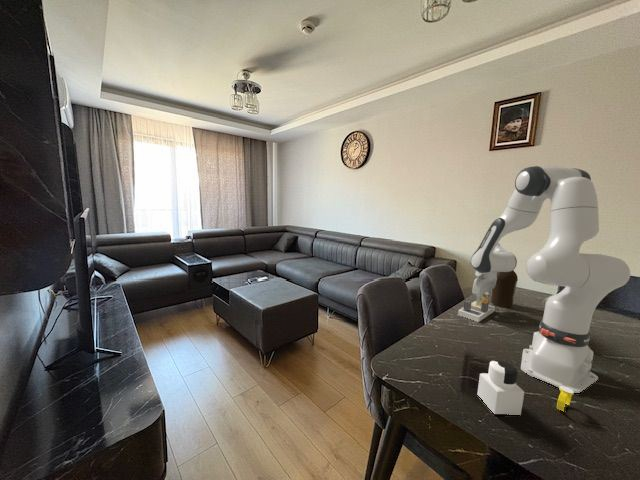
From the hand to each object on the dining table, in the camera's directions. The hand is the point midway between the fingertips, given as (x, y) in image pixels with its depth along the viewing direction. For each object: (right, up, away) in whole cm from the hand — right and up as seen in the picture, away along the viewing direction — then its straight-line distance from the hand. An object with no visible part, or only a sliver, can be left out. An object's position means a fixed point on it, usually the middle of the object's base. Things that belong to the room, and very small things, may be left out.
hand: (482, 299), depth 128 cm
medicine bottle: (-35, -15, -60) cm, 71 cm away
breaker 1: (-11, -4, -5) cm, 13 cm away
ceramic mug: (+39, -7, +2) cm, 40 cm away
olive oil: (+16, -5, +9) cm, 19 cm away
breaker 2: (-3, -4, -6) cm, 8 cm away
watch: (-18, -15, -61) cm, 65 cm away
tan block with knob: (0, -3, +1) cm, 3 cm away
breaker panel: (-5, -6, -3) cm, 8 cm away
